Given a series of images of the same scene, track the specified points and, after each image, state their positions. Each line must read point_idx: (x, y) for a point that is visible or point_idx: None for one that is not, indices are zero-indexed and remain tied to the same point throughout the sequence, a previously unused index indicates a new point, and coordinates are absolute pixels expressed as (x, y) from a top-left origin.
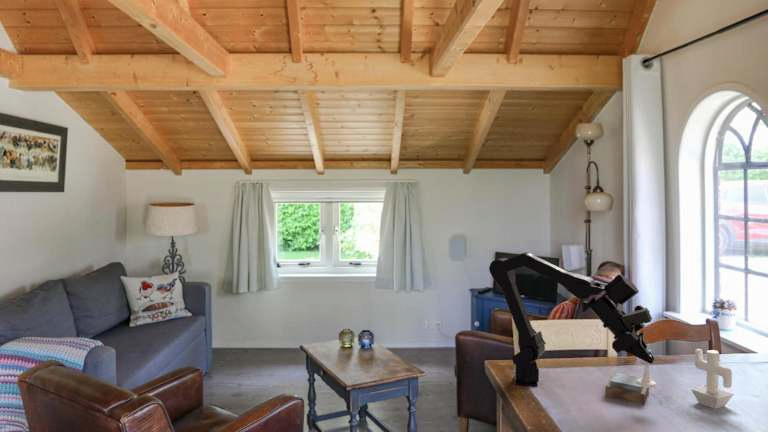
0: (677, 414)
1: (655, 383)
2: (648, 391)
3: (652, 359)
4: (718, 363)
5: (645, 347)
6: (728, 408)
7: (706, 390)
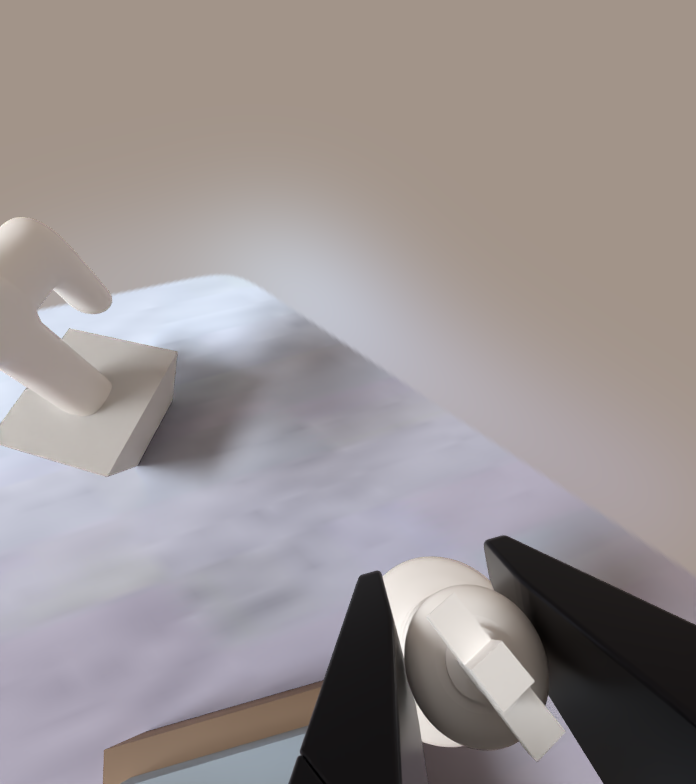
0: (361, 484)
1: (419, 562)
2: (156, 730)
3: (496, 549)
4: None
5: (410, 775)
6: None
7: (92, 412)
